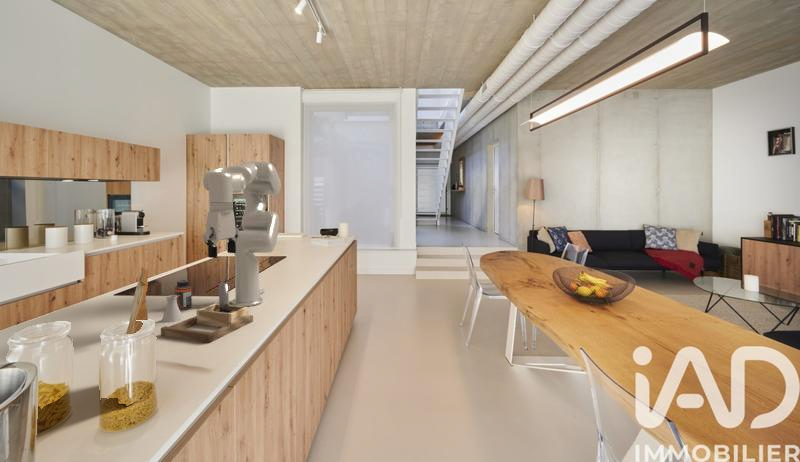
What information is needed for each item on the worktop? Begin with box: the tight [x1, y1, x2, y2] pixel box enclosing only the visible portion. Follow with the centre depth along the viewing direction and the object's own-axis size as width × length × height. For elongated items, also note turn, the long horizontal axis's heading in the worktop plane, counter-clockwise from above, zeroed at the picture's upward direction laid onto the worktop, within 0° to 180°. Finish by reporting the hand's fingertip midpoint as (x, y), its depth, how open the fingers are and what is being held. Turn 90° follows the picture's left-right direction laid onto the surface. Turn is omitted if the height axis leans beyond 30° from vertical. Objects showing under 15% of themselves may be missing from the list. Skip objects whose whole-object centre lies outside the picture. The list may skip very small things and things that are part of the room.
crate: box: [196, 303, 249, 329], centre depth 130 cm, size 9×14×5 cm, turn 76°
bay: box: [160, 314, 254, 344], centre depth 124 cm, size 21×18×4 cm
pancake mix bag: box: [125, 266, 149, 335], centre depth 86 cm, size 7×19×28 cm, turn 27°
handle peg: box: [218, 282, 230, 313], centre depth 130 cm, size 3×3×13 cm
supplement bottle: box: [174, 279, 193, 311], centre depth 150 cm, size 6×6×11 cm
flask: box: [161, 294, 184, 323], centre depth 132 cm, size 7×7×10 cm
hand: (222, 255), depth 132 cm, fingers open, 9 cm apart
